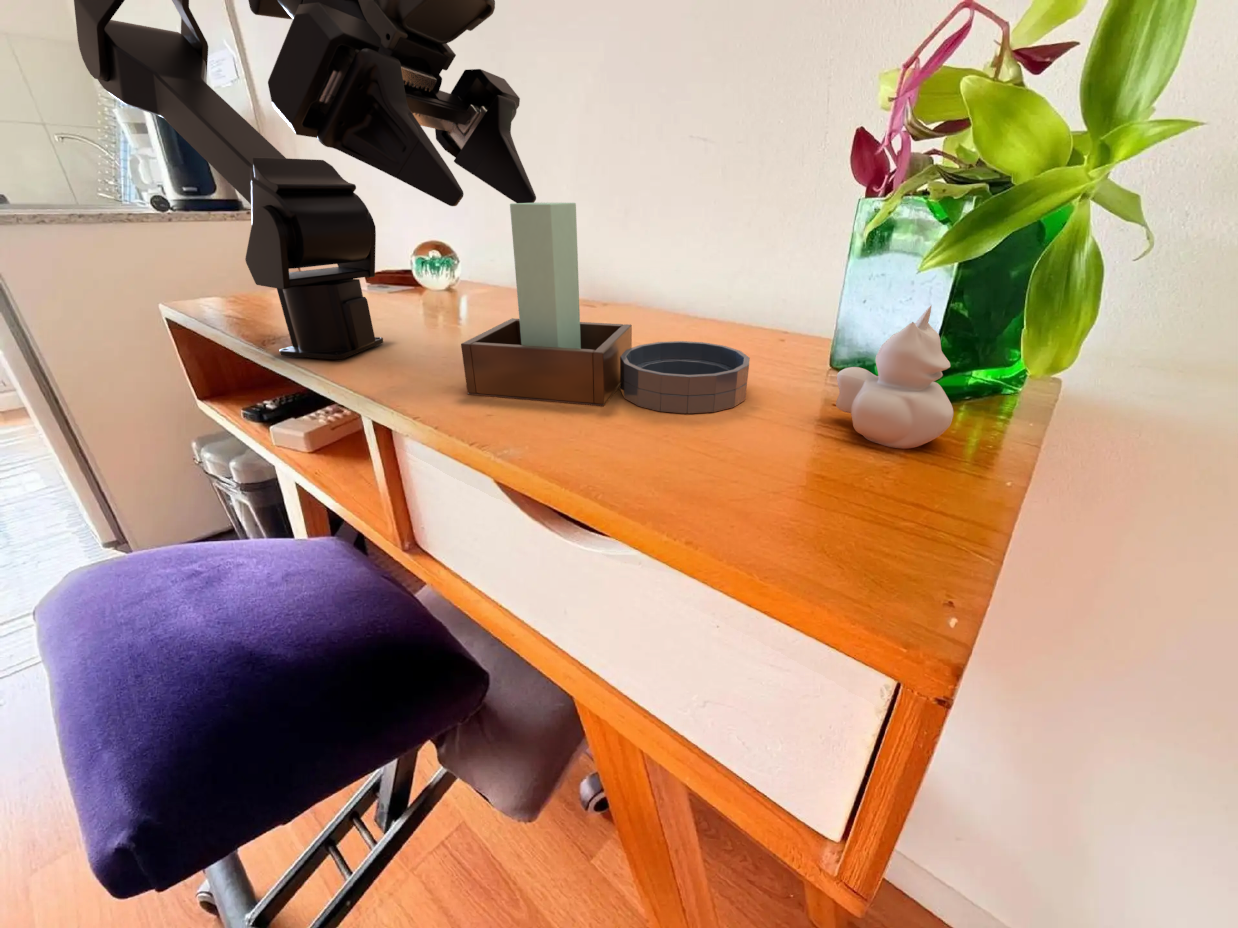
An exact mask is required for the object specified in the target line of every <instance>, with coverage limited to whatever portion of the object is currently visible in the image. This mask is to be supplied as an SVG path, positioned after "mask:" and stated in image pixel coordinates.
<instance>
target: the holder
mask: <svg viewBox="0 0 1238 928" xmlns="http://www.w3.org/2000/svg"><path fill="white" fill-rule="evenodd" d="M632 335H633V326H632V324H628V323H624V324H623V323H608V322H588V321H580V339H581V349H576V348H561V347H545V346H529V345H522V344H521V332H520V321H519V318H513V317H511V318H509V319H508V320H506V321H504V322H502V323H500V324H497V325H496V326H494V327H492V328H490V329H488V330H486V331H483V332H482V333H479V334H478V335H476V336H473V337H472V338H470V339H468V340H465V341H464V342H461V343H460V347H461V355H462V363H463V364H462V365H463V370H464V378H465V385H466V392H467V395H468V396H475V397H486V398H498V399H499V398H500V399H509V400H522V401H533V402H543V403H545V402H546V403H555V404H567V405H578V406H591V407H605V406H606V405H607V403H608V402H610V400H611V398H612V397H613V396H614V394H616V392H617V391H618V389H620V356H621V355H622V354H623V353H624V352H625V351H626V350H628V349H630V348H633V347H632V346H633V345H632V344H633V342H632V340H633V338H632V337H633V336H632Z"/></svg>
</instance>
